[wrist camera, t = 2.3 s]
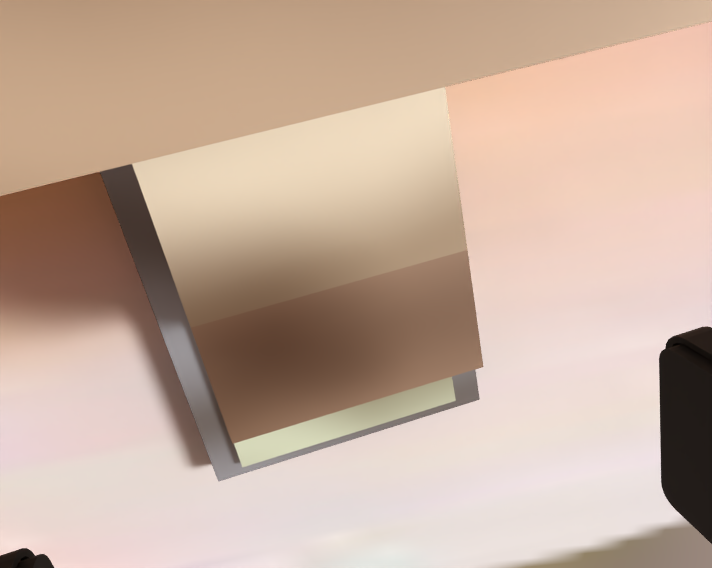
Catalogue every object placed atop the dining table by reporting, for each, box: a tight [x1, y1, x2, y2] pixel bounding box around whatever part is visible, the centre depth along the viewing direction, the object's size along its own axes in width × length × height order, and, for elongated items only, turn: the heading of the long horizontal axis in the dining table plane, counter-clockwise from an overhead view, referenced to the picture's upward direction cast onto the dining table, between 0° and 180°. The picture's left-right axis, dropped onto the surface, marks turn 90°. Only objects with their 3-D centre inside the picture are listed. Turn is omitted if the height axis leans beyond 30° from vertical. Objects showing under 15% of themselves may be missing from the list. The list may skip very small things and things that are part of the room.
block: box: [132, 87, 483, 444], centre depth 13 cm, size 16×6×6 cm, turn 12°
